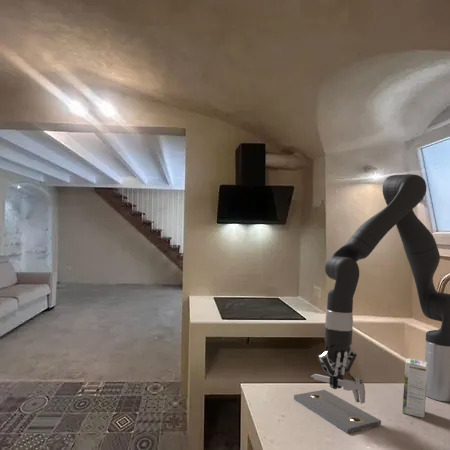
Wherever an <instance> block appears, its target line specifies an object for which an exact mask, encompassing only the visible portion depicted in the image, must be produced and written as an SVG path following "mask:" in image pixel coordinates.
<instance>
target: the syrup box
mask: <svg viewBox="0 0 450 450" xmlns="http://www.w3.org/2000/svg"><path fill="white" fill-rule="evenodd" d="M427 367H428V363H427V362H425V360H420V359H416V358H415V359H414V358H406V361H405V366H404V378H403V379H404V381H403V395H402V399H403V400H402V413H403V414H404V415H405V414H406V415H408V416H409V415H410V416H414V417H418V418H422V419H425V414H426V402H427V401H426V400H427V396H426V386H427Z"/></svg>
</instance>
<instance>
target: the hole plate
mask: <svg viewBox="0 0 450 450" xmlns="http://www.w3.org/2000/svg"><path fill="white" fill-rule="evenodd" d="M293 400H294V401H295V402H298V403H299V404H301V405H302V406H304V407H306V409H309V410H310V411H311V412H313V413H315V414H316V413H317V415H318V416H319V415H320V416H319V417H321V418H323V419H324V418H325V419H324V420H325V421H327V422H329V423H330V424H332V425H333V426H335V427H336V428H338V429H340V430H342V431H343V432H344V433H345V434H352V433H355V432H358V431H359V432H360V431H363V430H367V428H368V429H371V428H374V427H378V426H381V425H382V420H380V419H379V418H377V417H375V416H373V415H372V414H369V413H368V412H366V411H364V410H362V409H361V408H359V407H357V406H355V405H353V404H351V403H350V402H348V401H346V400H344V399H342V398H341V397H339V396H337V395H335V394H333V393H332V392H330V391H328V390H326V389H321V390H315V391H308V392H304V393H299V394H298V393H297V394H294V395H293Z"/></svg>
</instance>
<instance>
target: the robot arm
mask: <svg viewBox="0 0 450 450" xmlns="http://www.w3.org/2000/svg"><path fill="white" fill-rule="evenodd" d="M426 194H427V183H426V180H425V179H424V178H423V177H422V176H420V175H419V174H412V173H411V174H409V173H407V174H392V175H389V176H387V177H386V178H385V179H384V181H383V183H382V196H383V199H384V201H385V204H386V206H385V207H384V208H383V209H381V210H380V211H378V212H377V213H376V214H374V215H373V216H371V217H369V219H367V220H365V222H363V223H362V224H361V225H360V226H359V227H358V228H357V229H356V231H355V232H354V233H353V234H352V236H351V237H350V238H349V239H348V240H347V242H346V243H344V244H343V245H342V246H340V248H338V249H337V250H336V251H335V252H333V253H332V254H331V255H330V256H329V258H328V259H327V261H326V263H325V266H324V269H325V270H324V271H325V274H326V275H327V277H328V278H330V279H331V280H332V281H333V280H334V281H335V282H334V287H333V288H332V289H330V290H329V291H328V293H327V301H326V303H327V305H326V314H325V323H324V324H325V326H324V342H325V347H324V352H323V353H322V354H320V353H319V354H317V359H318V362H319V363H320V366H321V368H322V369H323V371H324V372H325V373H326V374H328V375H329V377H330V381H329V383H328V384H329V386H330V388H331V389H333V390H337V389H343V386H339V385H338V379H340V380H344V375H345V374H346V373H349V372H350V370H351V369H352V366H353V364H354V362H355V360H356V358H357V353H356V352H353V351H352V349H351V345H352V344H353V331H354V330H353V328H354V327H353V326H354V317H353V314H354V313H353V309H354V306H353V305H354V296H355V293H356V290H357V287H358V283H359V279H360V267H359V265H358V261H360V260H364V259H366V258H368V257H369V256H370V255H371V254H372V252H373V251H374V249H375V248H376V247H377V246H378V245H379V243H380V242H381V241H382V240H383V238H384V237H385V236H386V234H388V232H390V231H391V229H392V228H394V227H395V226H396V229H397V232H398V234H399V237H400V239H401V242H402V247H403V250H404V254H405V256H406V259H407V261H408V263H409V264H408V265H409V266H410V269H411V270H410V271H411V272H412V275H413V278H414V284H415V287H416V290H417V291H416V292H417V297H418V301H419V304H420V305H419V306H420V309H421V312H422V314H423V315H424V316H425V318H427V319H430V320H433V321H438V322H440V323H441V326H440V328H439V329H433V330H428V331H427V332H425V346H424V347H425V349H424V350H425V351H424V362H427V363H428V367H427V386H426V397H428V398H430V399H433V400H435V401H439V402H450V293H445V292H439V291H437V290H436V287H435V284H434V279H433V278H434V275H435V273H436V271H437V268H438V267H439V264H440V260H441V257H440V256H441V255H440V252H439V249H438V246H437V242H436V239H435V237H434V235H433V234H432V233H431V231H430V230H429V229H428V228H427V226H425V224H424V223H423V222H422V221H421V220H420V219H419V218H418V216H417V215H416V213H415V212H414V209H415V208H416V207H417V206H418V205H419V204H420V203H421V202H422V200H424V197H425V195H426Z"/></svg>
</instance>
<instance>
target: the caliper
mask: <svg viewBox="0 0 450 450" xmlns="http://www.w3.org/2000/svg"><path fill="white" fill-rule="evenodd" d="M310 377H311V378H313V380H316V381H319V382H323V383H327V384H329V381H330V376H327V375H322V374H318V373H313V374H312V375H310ZM338 385H339V386H342V389H343V390H344V391H347V392H348V391H352V394H353V397H354V401H355V403H360V404H365V403H366V386H365V383H363V378H359V377H356V378H355V380H350V379H344V378H343V380H340V379H338Z"/></svg>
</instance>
